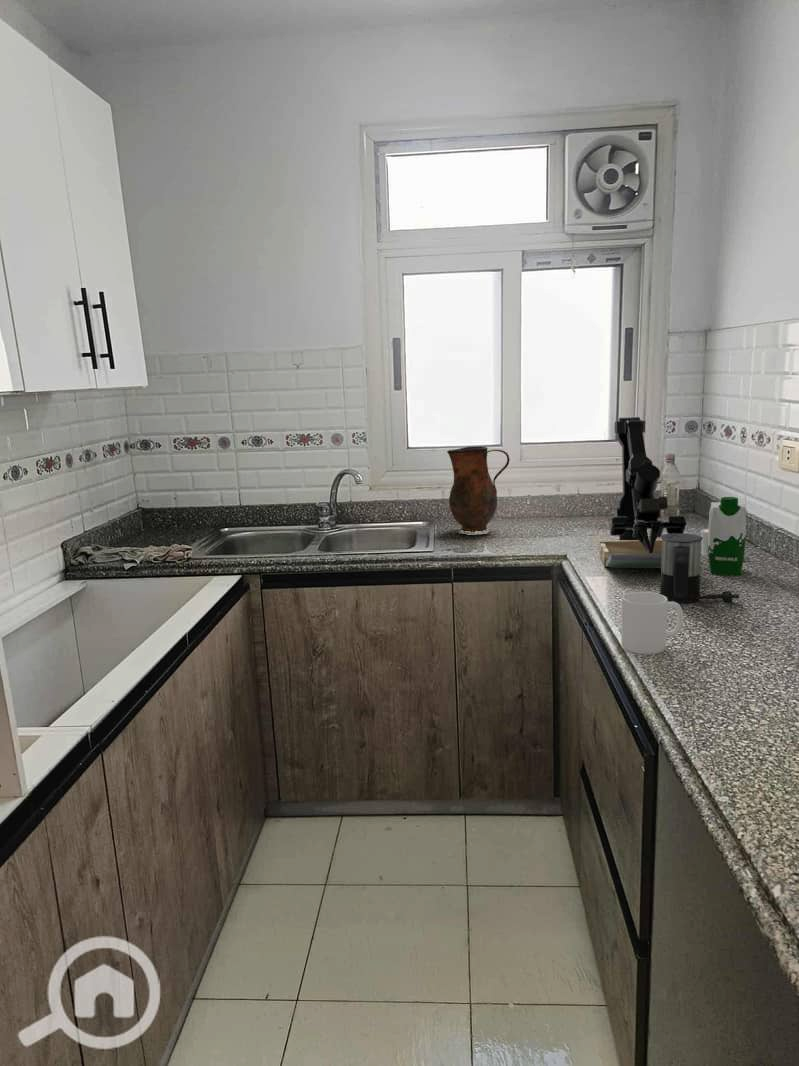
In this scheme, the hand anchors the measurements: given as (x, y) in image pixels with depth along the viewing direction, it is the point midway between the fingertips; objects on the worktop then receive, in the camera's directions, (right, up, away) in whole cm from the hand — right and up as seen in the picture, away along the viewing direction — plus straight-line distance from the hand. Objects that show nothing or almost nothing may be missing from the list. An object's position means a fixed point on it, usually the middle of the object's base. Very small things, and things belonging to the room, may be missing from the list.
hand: (650, 552), depth 184 cm
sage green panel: (+2, -3, +10) cm, 11 cm away
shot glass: (+25, -1, +21) cm, 33 cm away
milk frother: (+4, -11, -19) cm, 22 cm away
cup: (-16, -17, -45) cm, 51 cm away
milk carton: (+21, -5, +3) cm, 22 cm away
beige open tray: (+3, -3, +16) cm, 17 cm away
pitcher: (-37, +5, +65) cm, 75 cm away
